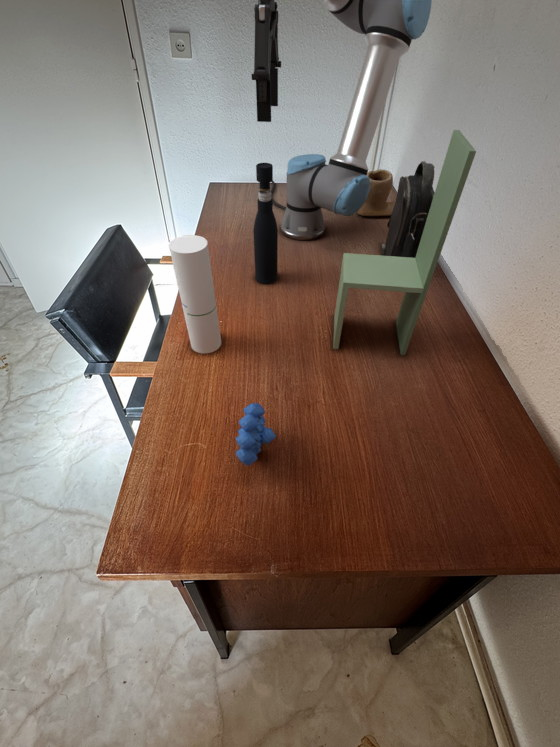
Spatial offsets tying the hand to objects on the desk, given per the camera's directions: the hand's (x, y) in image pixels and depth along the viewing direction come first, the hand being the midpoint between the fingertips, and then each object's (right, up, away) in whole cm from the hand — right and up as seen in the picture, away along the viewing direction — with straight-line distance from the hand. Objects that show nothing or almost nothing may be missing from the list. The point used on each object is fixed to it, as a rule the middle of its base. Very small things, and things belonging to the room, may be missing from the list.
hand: (268, 113), depth 78 cm
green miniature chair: (+24, -46, +12) cm, 53 cm away
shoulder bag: (+39, -21, +36) cm, 57 cm away
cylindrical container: (-15, -48, +10) cm, 51 cm away
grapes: (-2, -70, -11) cm, 70 cm away
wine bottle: (-1, -27, +30) cm, 40 cm away
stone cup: (+38, +5, +61) cm, 72 cm away
